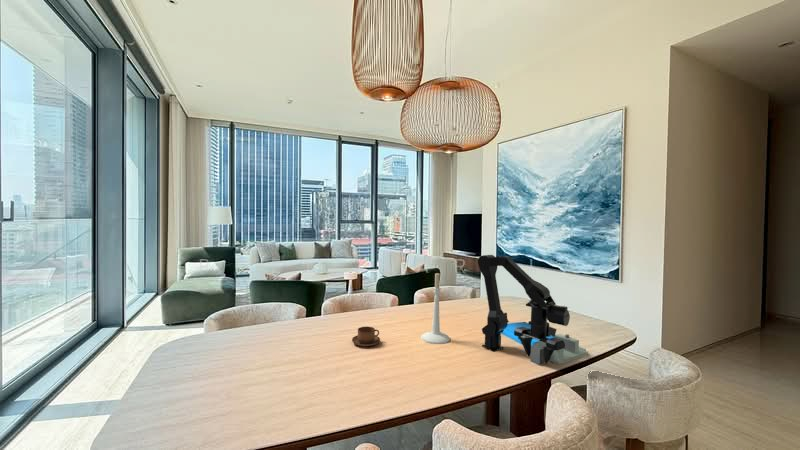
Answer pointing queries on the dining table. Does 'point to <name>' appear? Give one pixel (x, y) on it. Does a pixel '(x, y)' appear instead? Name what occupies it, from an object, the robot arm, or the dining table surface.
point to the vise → (564, 354)
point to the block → (537, 355)
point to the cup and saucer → (366, 337)
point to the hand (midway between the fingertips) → (537, 359)
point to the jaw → (569, 343)
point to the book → (510, 333)
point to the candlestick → (436, 320)
